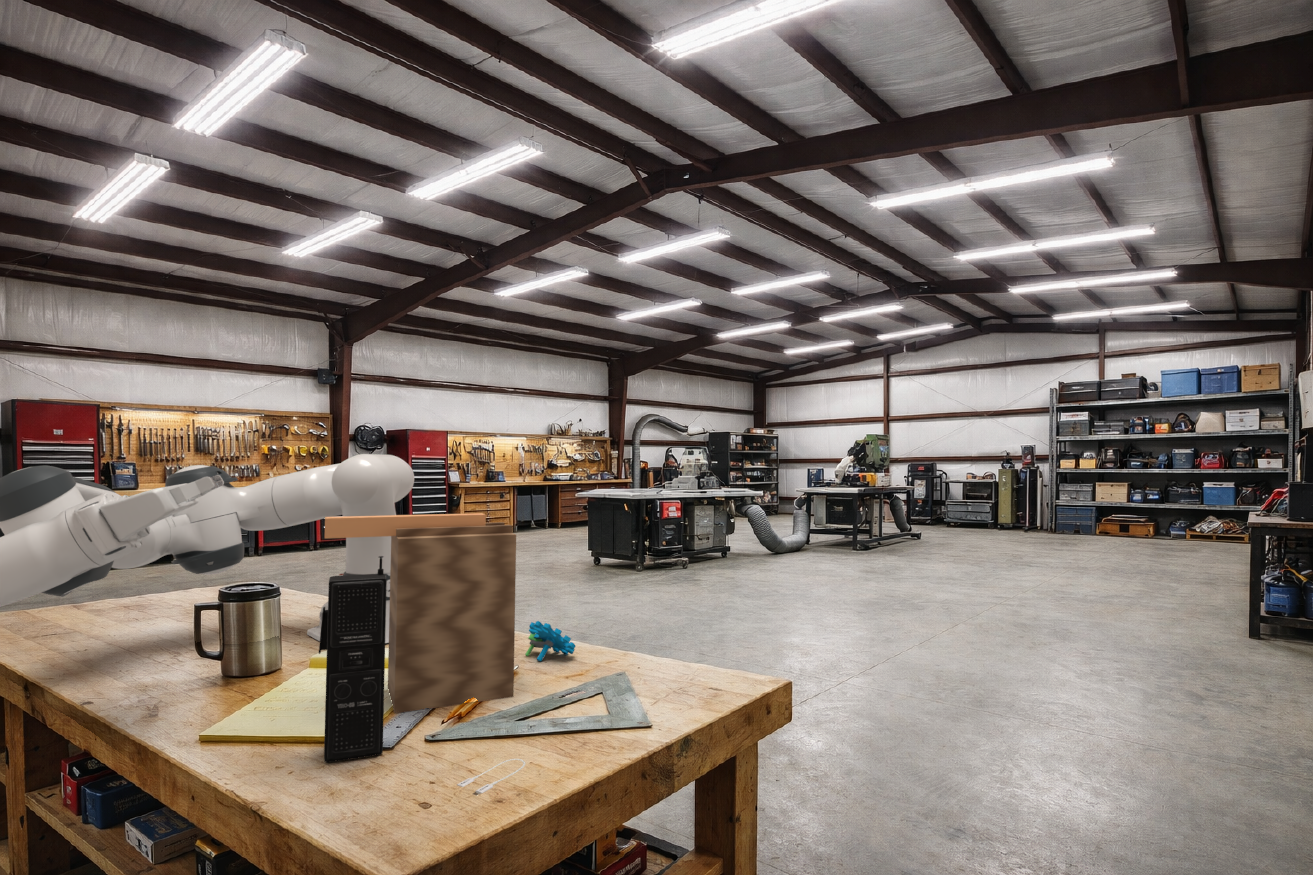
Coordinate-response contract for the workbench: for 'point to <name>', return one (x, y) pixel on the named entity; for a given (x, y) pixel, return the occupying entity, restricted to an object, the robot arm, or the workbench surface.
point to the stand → (451, 615)
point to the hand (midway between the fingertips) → (217, 480)
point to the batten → (395, 524)
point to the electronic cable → (487, 784)
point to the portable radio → (354, 665)
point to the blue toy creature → (548, 640)
